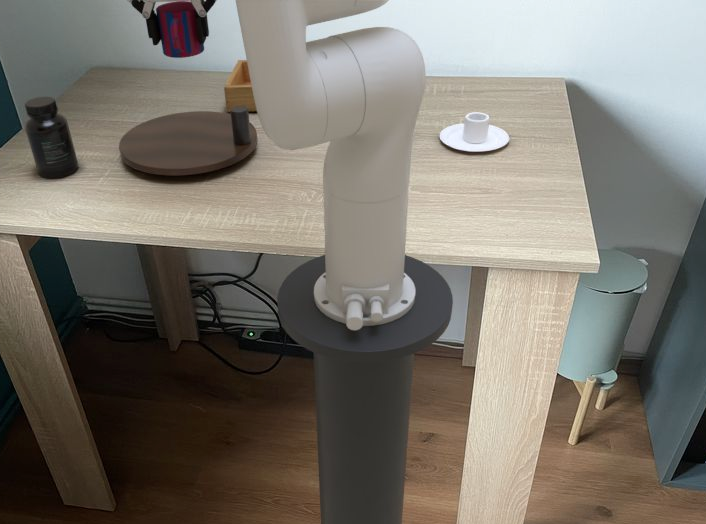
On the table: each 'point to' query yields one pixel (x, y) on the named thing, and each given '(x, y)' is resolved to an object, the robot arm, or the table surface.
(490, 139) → the candle holder
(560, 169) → the table surface
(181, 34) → the mug
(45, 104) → the supplement bottle
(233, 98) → the tray
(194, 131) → the turntable
